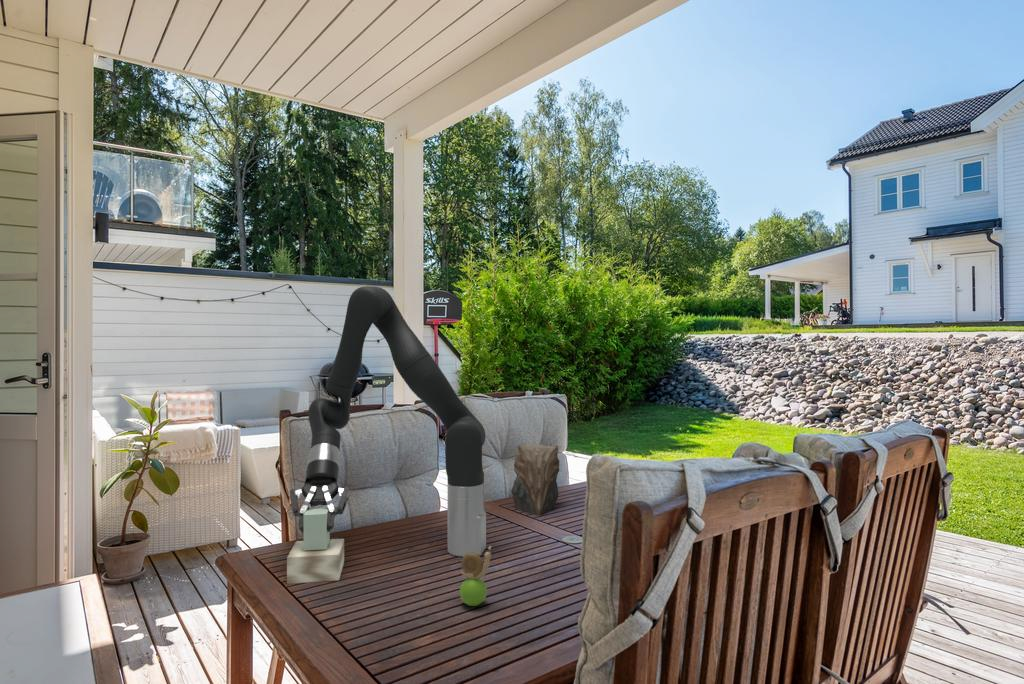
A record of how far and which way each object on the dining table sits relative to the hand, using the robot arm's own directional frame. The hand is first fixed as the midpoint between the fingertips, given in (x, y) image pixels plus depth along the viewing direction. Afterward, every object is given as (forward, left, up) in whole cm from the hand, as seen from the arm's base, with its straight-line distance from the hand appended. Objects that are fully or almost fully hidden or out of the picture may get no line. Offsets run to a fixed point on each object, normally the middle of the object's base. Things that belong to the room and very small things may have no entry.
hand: (315, 530), depth 136 cm
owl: (-41, -62, -10) cm, 75 cm away
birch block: (+1, -2, -11) cm, 11 cm away
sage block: (+1, -2, -4) cm, 5 cm away
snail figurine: (-39, +8, -10) cm, 42 cm away
